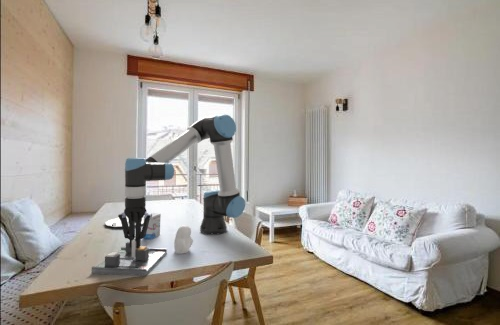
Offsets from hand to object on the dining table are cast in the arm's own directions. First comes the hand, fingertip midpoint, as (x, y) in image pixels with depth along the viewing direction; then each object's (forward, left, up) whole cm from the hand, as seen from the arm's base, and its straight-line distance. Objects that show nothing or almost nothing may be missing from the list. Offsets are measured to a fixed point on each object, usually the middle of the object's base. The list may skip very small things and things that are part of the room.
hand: (135, 255), depth 106 cm
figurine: (-15, -14, -3) cm, 21 cm away
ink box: (+7, -33, -3) cm, 34 cm away
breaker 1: (+5, +8, -1) cm, 9 cm away
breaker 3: (-3, 0, -1) cm, 3 cm away
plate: (+32, -57, -3) cm, 65 cm away
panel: (+1, 0, -3) cm, 3 cm away
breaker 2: (+5, -7, -1) cm, 9 cm away
